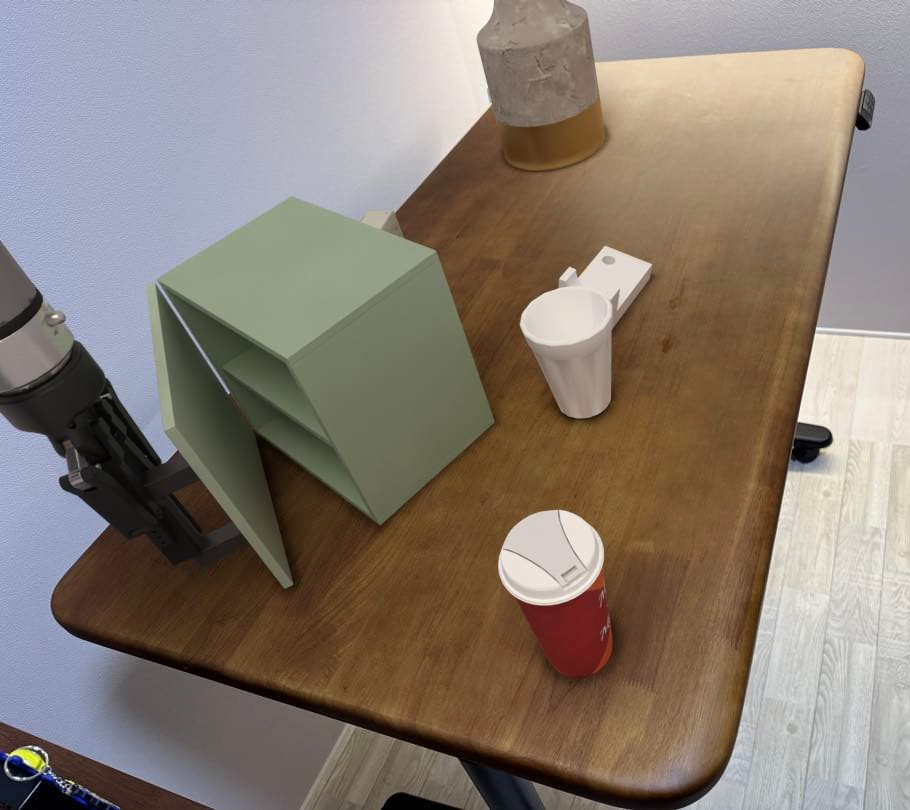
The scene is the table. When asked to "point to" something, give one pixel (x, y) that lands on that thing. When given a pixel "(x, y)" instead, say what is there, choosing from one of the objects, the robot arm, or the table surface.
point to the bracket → (612, 278)
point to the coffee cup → (560, 588)
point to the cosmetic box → (383, 221)
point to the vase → (542, 83)
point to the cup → (573, 347)
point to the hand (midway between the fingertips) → (187, 546)
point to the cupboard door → (209, 449)
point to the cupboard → (337, 349)
